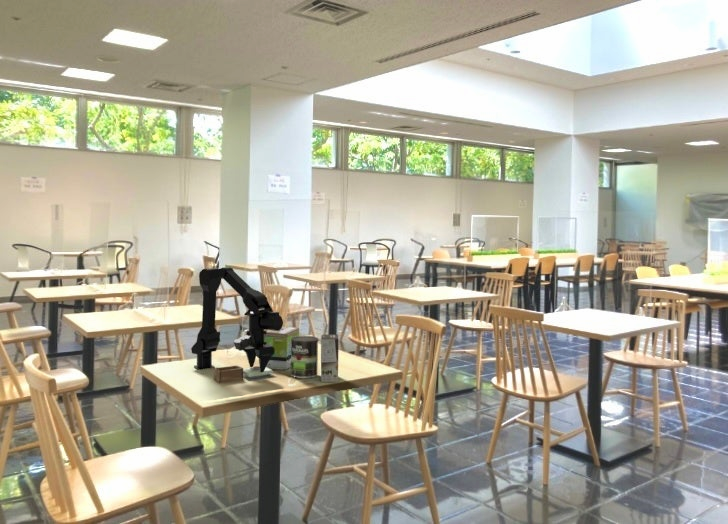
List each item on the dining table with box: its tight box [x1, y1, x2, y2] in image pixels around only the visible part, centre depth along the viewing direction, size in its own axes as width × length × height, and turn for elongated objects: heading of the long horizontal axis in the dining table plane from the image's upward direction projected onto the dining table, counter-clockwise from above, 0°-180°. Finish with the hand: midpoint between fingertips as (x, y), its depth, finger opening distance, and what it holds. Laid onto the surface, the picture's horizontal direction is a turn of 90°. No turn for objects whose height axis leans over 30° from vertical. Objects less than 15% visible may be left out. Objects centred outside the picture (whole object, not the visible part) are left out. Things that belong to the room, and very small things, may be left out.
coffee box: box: [320, 333, 340, 383], centre depth 220 cm, size 9×6×16 cm
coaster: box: [243, 373, 277, 382], centre depth 221 cm, size 11×11×1 cm
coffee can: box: [290, 335, 319, 379], centre depth 226 cm, size 10×10×14 cm
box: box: [213, 364, 244, 384], centre depth 215 cm, size 5×9×5 cm, turn 125°
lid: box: [243, 365, 274, 378], centre depth 221 cm, size 7×10×3 cm
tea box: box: [265, 326, 300, 371], centre depth 241 cm, size 15×10×15 cm, turn 168°
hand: (256, 369), depth 221 cm, fingers open, 9 cm apart
